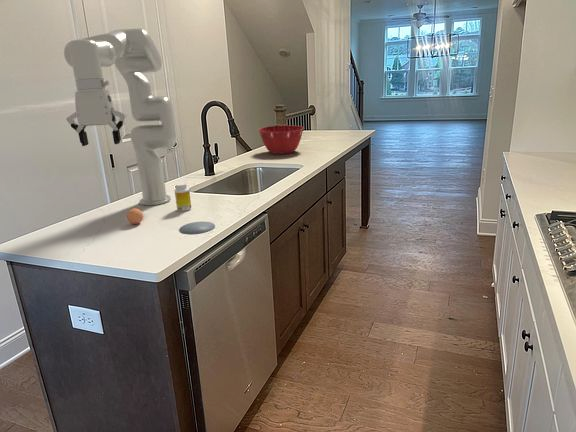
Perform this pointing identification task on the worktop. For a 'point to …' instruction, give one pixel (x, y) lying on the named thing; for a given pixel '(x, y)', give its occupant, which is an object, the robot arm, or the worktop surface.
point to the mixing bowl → (281, 138)
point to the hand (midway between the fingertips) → (101, 144)
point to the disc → (197, 227)
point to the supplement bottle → (182, 197)
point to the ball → (134, 216)
